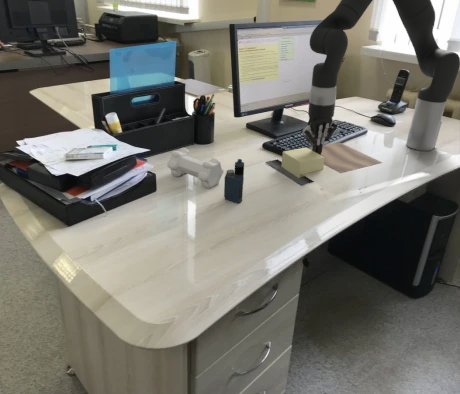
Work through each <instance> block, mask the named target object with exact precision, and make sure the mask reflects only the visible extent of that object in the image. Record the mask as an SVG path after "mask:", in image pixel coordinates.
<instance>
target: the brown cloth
mask: <svg viewBox="0 0 460 394" xmlns="http://www.w3.org/2000/svg"><path fill="white" fill-rule="evenodd" d="M308 148H309V149H310V150H312V147H308ZM321 156H323V157H325V159H324V165H325V166H326V167H328V168H330V169H332V170H334V171H336V172H337V173H339V174H344V173H347V172H350V171H354V170H359V169H363V168H367V167H368V168H369V167H372V166H375V165H376V166H377V165H379V164H383V162H382V161H380V160H378V159H377V158H374V157H372V156H369V155H368V154H365V153H363V152H361V151H359V150H357V149H354V148H353V147H350V146H349V145H346V144H344V143H342V142H339V141H338V142H334V143H328V144H323V147H322V153H321Z"/></svg>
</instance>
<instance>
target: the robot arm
mask: <svg viewBox="0 0 460 394" xmlns="http://www.w3.org/2000/svg"><path fill="white" fill-rule="evenodd" d="M373 1H374V0H340V1H339V3H338V5H337V6H336V7H335V9H334V10H333V11H332V12H331V13H330V14H328V15H327V16H326V17H325V18H324V19H323V20H322V21H321V22H319V24H318V25H317V26H315V28H314V29H313V31H312V33H311V35H310V37H309V47H310V49H311V51H312V52H314V53H316V54H319V55H325V60H324V62H319V63H316V64H315V65H314V66H313V68H312V77H311V87H310V92H309V102H308V112H307V113H308V118H309V119H308V121H307V126H306V127H305V128H301V129H300V132H301V133H302V136H303V137H304V139H305V140H306V141H307V142H308V143H310V144H312V147H311V148H312V151H314V152H316V153H317V154H319V155H321V153H322V147H323V145H325V144H324V143H325V142H329V141H330V139H331V137H332V135H333V134H334V133H335V130H336V129H337V128H338V124H337V123H335V122H334V121H333V117H334V116H335V109H336V108H335V107H336V100H337V99H336V98H337V85H338V83H337V82H338V75H339V70H340V67H341V65H342V62H343V59H344V57H345V55H346V52H347V50H348V46H349V38H348V35H347V33H346V30H351V29H353V28H354V27H355V26H356V25H357V23H358V22H359V20H361V17H362V16H363V15H364V13H365V12H366V11H367V9H368V8H369V6H370V5H371V3H373ZM392 2H393V4H394V7H395V9H396V11H397V14H398V17H399V18H400V22H401V23H402V25H403V27H404V29H405V31H406V33H407V36H408V38H409V41H410V43H411V45H412V47H413V49H414V50H413V51H414V53H415V56H416V60H417V63H418V67H419V69H420V71H421V73H422V74H423V75H424V76H426V77H428V78H431V83H430V85H429V86H428V87H422V88H420V89H419V90H418V94H417V97H416V101H415V106H414V110H413V114H412V118H411V123H410V126H409V131H408V133H407V139H406V143H405V144H406V146H407V147H408V148H411V149H413V150H417V151H422V152H423V151H424V152H427V151H428V152H429V151H433V149H434V148H435V147H436V143H437V140H438V137H439V133H440V131H441V127H442V126H441V125H442V123H443V122H442V118H443V115H444V110H445V107H446V104H447V100H448V97H449V96H450V94H451V93H452V91H453V89H454V85H455V83H456V79H457V76H458V74H459V70H460V56H459V54H458V53H456V52H454V51H450V50H445V49H442V48H440V46H438V44H437V41H436V39H435V37H434V33H433V32H434V31H433V29H434V27H435V22H436V11H435V8H434V6H433V3H432V1H431V0H392ZM336 131H337V130H336Z"/></svg>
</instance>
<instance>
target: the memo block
mask: <svg viewBox="0 0 460 394" xmlns="http://www.w3.org/2000/svg"><path fill="white" fill-rule="evenodd" d="M309 148H310V147H302V148H297V149H296V148H295V149H289V150H284V151H282V158H281V162H282V165H281V167H283V168H284V169H286V170H287V171H289V172H290V173H292V174H293V175H295V176H296V177H298V178H300V177H305V176H306V175H304V174H307V173H311V172H317V171H323V170H324V165H325V164H324V159H325V157H323V156H321V155H319V154H317V153H316V152H314V151H312V150H310V149H309Z"/></svg>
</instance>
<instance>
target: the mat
mask: <svg viewBox="0 0 460 394" xmlns="http://www.w3.org/2000/svg"><path fill="white" fill-rule="evenodd" d="M265 164H267V165H268V166H270V167H272V168H273V169H275V170H276V171H278V172H279V173H281V174H282V175H283V176H285V177H287V178H288V179H290V180H292V181H293V182H295V183H297V184H298V185H300V186H304V185H308V184H312V183H315V181H314V180H312V179H311V178H309V177H307V176H306V175H304V176H305V177H300V178H298V177H296V176H295V175H293V174H292V173H290V172H289V171H287V170H286V169H284V168H283V167H281V165H282V160H280V159H273V160H269V161H265Z"/></svg>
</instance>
